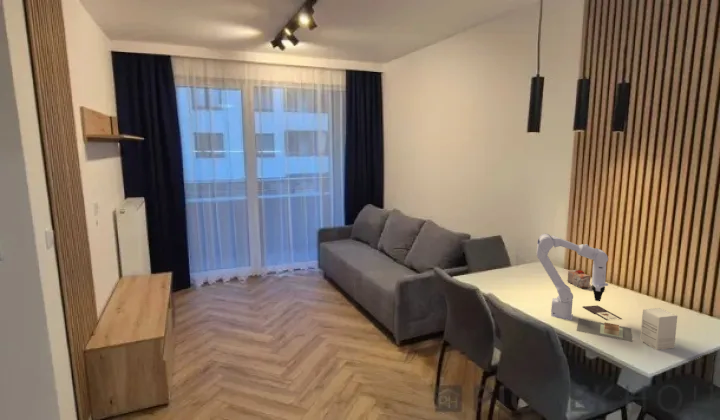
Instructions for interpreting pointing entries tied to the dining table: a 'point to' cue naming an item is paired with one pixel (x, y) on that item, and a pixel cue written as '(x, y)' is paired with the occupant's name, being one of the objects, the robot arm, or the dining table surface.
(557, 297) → the robot arm
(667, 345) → the supplement box
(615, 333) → the tile
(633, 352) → the dining table surface
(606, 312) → the chocolate bar
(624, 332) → the mat
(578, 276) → the food item
